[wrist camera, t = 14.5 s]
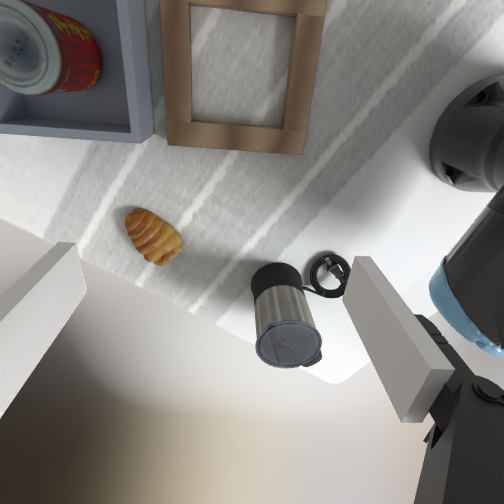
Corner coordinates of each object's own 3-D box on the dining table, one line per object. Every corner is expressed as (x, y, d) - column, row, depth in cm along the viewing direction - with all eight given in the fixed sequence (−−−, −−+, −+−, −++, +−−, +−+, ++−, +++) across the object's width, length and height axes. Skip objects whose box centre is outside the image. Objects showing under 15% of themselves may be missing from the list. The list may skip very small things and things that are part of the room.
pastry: (117, 222, 47) (108, 233, 44) (148, 197, 45) (142, 206, 42) (160, 262, 51) (155, 275, 48) (190, 241, 49) (187, 253, 46)
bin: (142, -24, 32) (122, -47, 26) (154, 133, 40) (141, 143, 34) (-17, -44, 31) (-77, -72, 25) (28, 123, 39) (-9, 132, 33)
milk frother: (239, 288, 54) (242, 353, 42) (296, 223, 48) (319, 276, 36) (298, 321, 59) (317, 388, 46) (357, 265, 53) (396, 325, 41)
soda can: (33, 60, 35) (-53, 53, 24) (59, 1, 32) (-24, -36, 22) (92, 104, 37) (37, 114, 27) (120, 52, 35) (72, 41, 24)
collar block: (325, -14, 34) (330, -19, 32) (299, 151, 43) (302, 154, 41) (161, -34, 32) (157, -41, 30) (170, 142, 41) (167, 145, 39)
